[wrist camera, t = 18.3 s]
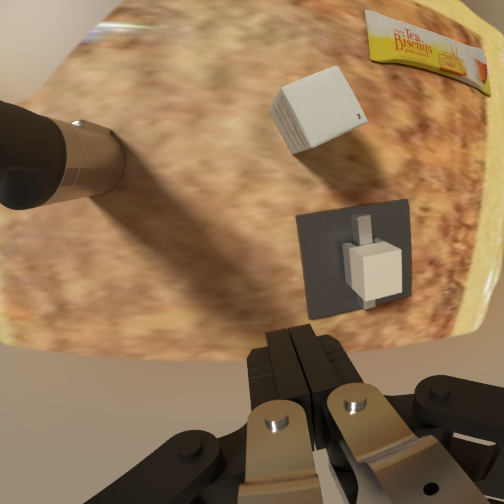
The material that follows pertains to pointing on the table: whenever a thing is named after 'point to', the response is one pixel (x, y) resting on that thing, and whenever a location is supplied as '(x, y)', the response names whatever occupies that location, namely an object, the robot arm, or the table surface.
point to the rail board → (332, 259)
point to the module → (373, 269)
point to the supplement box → (316, 110)
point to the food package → (425, 50)
